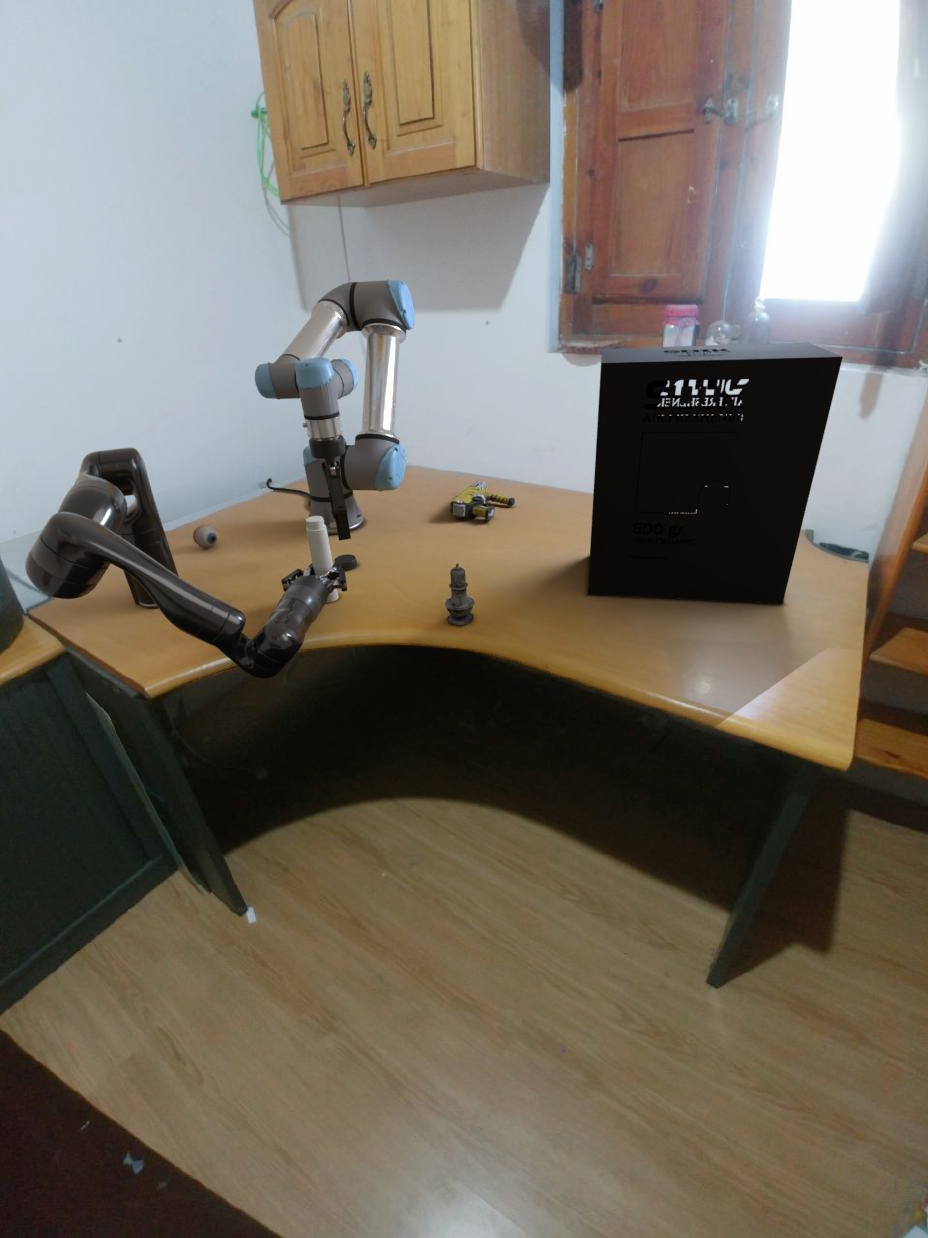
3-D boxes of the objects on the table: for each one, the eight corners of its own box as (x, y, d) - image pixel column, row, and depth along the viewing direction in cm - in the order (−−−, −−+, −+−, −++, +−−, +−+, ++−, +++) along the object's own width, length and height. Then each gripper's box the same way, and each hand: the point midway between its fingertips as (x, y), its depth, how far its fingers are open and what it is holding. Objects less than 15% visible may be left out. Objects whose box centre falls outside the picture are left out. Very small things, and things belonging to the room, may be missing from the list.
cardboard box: (760, 561, 136) (807, 342, 113) (782, 604, 118) (842, 356, 96) (590, 554, 143) (602, 348, 121) (587, 594, 126) (601, 362, 104)
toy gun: (523, 485, 181) (476, 478, 185) (501, 509, 161) (448, 500, 165) (521, 500, 184) (475, 493, 187) (499, 525, 163) (447, 517, 167)
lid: (350, 571, 142) (349, 564, 141) (331, 569, 144) (330, 562, 143) (360, 562, 146) (359, 555, 145) (342, 561, 148) (340, 553, 147)
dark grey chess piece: (472, 626, 117) (469, 570, 111) (442, 624, 118) (438, 569, 112) (477, 611, 122) (475, 557, 116) (449, 610, 123) (445, 556, 117)
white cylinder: (331, 592, 134) (317, 513, 124) (342, 597, 131) (328, 518, 122) (316, 598, 131) (300, 519, 122) (326, 604, 129) (310, 523, 119)
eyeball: (207, 553, 156) (200, 531, 153) (191, 549, 159) (185, 527, 156) (225, 545, 160) (220, 523, 157) (210, 541, 163) (204, 520, 160)
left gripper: (335, 585, 113) (357, 548, 128) (262, 585, 114) (292, 549, 129) (341, 619, 117) (362, 580, 131) (270, 619, 118) (299, 580, 133)
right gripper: (304, 425, 140) (321, 511, 151) (311, 454, 119) (330, 551, 130) (337, 421, 141) (351, 507, 152) (349, 449, 120) (365, 546, 132)
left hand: (327, 565), depth 130 cm, fingers closed on white cylinder, 4 cm apart
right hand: (341, 527), depth 141 cm, fingers open, 13 cm apart
